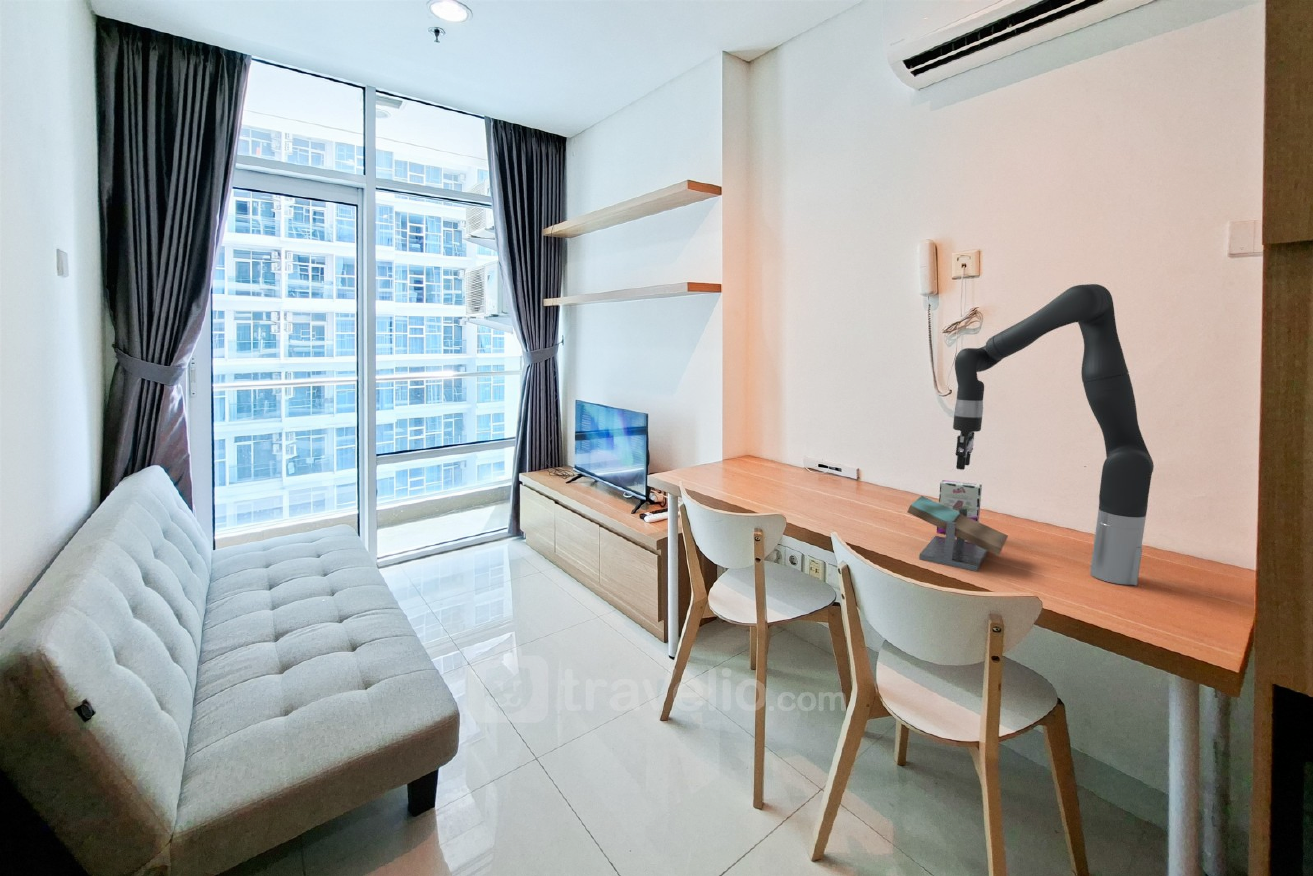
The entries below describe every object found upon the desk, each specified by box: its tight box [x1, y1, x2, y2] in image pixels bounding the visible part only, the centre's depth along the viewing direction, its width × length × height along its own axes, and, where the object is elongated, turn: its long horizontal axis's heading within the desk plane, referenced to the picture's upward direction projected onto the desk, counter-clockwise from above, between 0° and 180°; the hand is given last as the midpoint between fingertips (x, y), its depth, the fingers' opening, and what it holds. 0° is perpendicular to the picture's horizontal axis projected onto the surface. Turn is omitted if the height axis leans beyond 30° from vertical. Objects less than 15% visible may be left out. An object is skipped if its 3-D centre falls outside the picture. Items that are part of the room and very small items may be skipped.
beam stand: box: [918, 507, 989, 572], centre depth 158 cm, size 14×20×12 cm
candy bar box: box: [936, 479, 983, 537], centre depth 176 cm, size 11×5×16 cm, turn 55°
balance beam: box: [907, 495, 1009, 556], centre depth 158 cm, size 24×15×2 cm, turn 55°
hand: (962, 467), depth 174 cm, fingers open, 8 cm apart
